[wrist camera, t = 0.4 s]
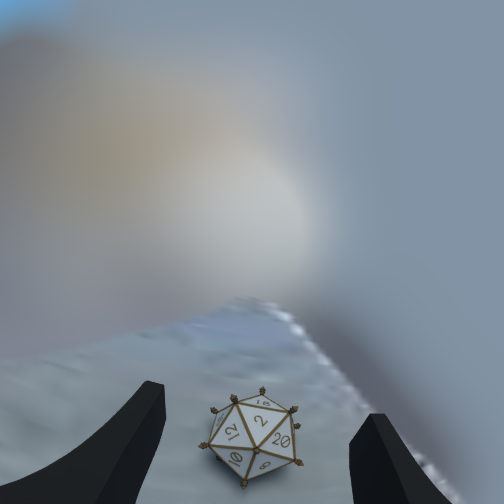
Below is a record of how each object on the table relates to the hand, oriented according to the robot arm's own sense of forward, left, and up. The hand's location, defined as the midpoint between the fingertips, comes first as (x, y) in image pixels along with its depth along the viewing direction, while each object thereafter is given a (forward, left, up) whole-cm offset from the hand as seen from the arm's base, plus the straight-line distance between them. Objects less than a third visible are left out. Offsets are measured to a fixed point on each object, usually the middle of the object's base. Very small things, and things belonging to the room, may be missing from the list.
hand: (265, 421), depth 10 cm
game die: (+6, -2, -19) cm, 20 cm away
